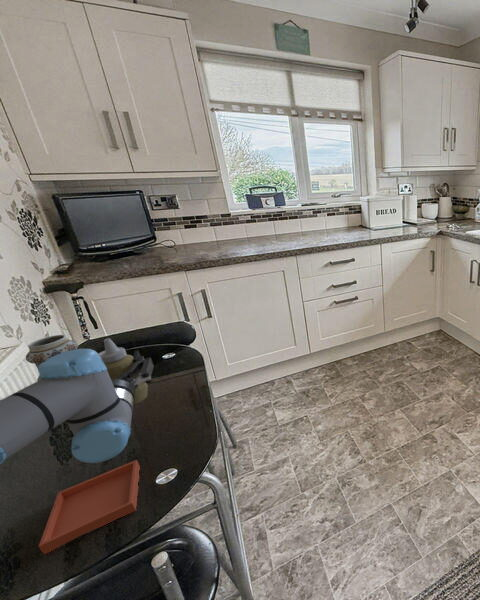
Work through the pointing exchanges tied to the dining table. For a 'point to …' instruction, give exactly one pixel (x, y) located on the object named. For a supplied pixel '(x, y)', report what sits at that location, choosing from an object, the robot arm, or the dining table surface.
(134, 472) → the tray
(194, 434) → the dining table surface
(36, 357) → the apothecary jar
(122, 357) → the squeeze bottle
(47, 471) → the dining table surface
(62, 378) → the robot arm
